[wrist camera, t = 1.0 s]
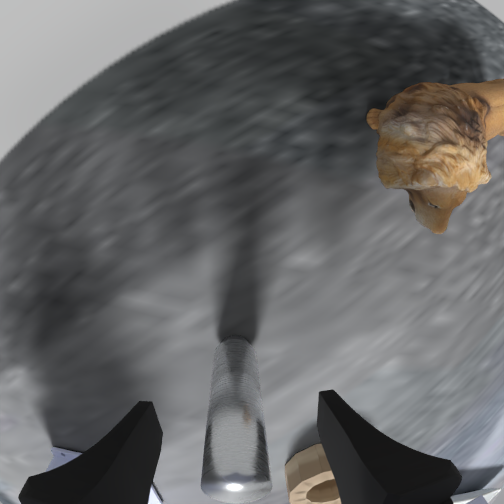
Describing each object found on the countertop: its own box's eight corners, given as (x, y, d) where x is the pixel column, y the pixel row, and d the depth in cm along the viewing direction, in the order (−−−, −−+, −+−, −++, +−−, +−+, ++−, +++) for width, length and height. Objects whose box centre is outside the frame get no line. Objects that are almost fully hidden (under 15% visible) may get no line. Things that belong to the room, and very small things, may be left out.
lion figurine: (357, 223, 17) (459, 266, 8) (309, 138, 15) (387, 98, 7) (502, 124, 15) (595, 118, 7) (471, 58, 14) (559, 27, 6)
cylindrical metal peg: (217, 365, 18) (207, 504, 8) (212, 332, 18) (194, 470, 8) (256, 363, 18) (273, 500, 8) (254, 328, 18) (271, 467, 8)
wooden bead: (285, 489, 22) (289, 514, 19) (284, 448, 20) (290, 477, 17) (353, 476, 22) (361, 499, 19) (364, 434, 20) (376, 460, 17)
